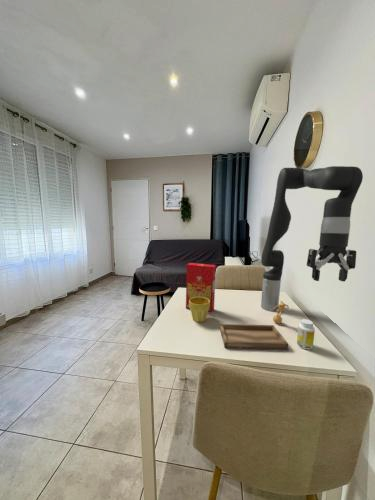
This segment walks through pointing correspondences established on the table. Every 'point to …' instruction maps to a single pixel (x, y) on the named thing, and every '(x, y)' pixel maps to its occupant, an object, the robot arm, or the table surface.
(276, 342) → the tray
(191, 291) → the food packaging
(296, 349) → the table surface
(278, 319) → the figurine
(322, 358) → the table surface
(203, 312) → the plant pot
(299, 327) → the supplement bottle
